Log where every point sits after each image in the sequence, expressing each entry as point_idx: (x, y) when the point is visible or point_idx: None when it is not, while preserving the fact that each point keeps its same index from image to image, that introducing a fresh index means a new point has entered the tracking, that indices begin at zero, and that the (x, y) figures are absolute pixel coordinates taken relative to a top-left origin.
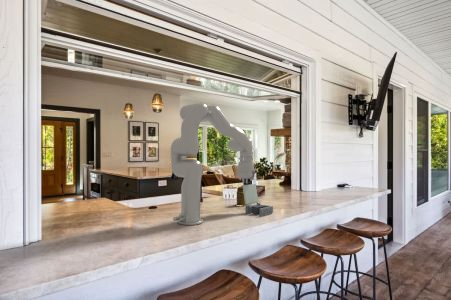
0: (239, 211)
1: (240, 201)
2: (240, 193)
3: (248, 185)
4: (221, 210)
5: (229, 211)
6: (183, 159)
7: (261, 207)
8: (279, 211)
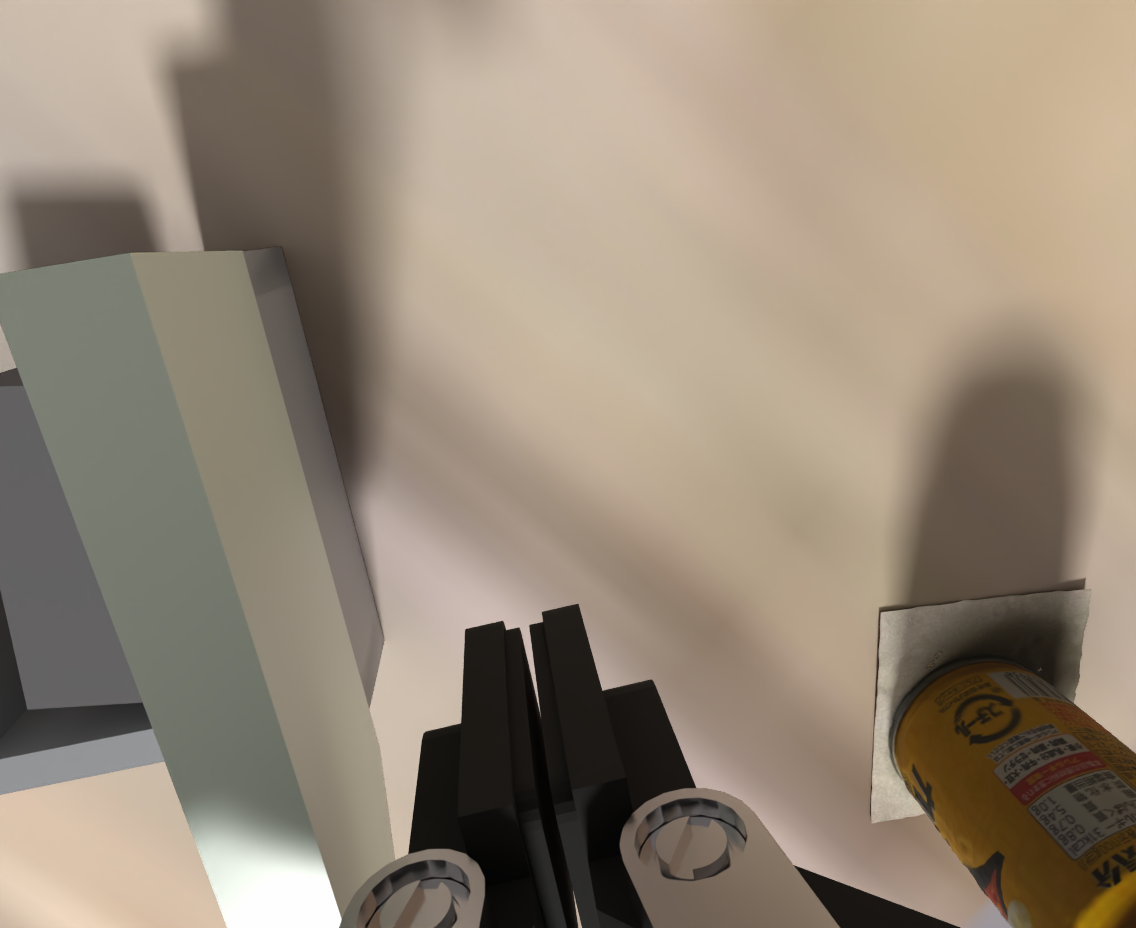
0: (558, 316)
1: (980, 728)
2: (1109, 855)
3: (181, 746)
4: (880, 55)
5: (688, 132)
6: None
7: (5, 544)
8: (136, 915)
